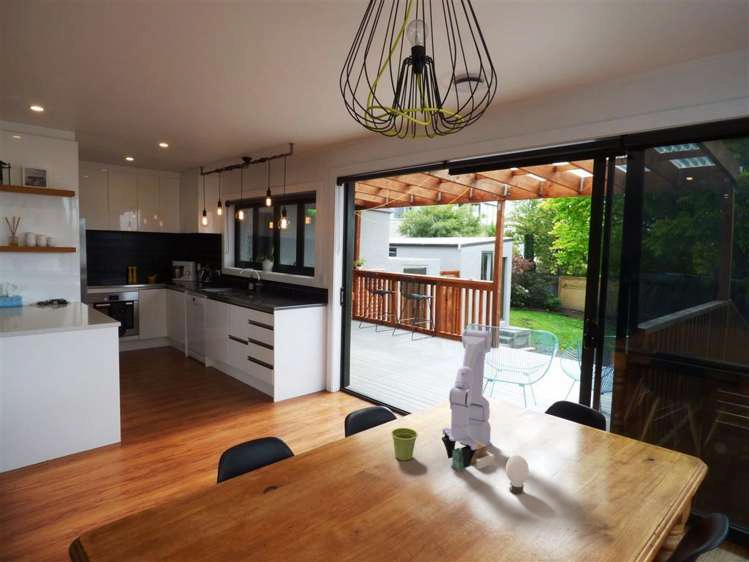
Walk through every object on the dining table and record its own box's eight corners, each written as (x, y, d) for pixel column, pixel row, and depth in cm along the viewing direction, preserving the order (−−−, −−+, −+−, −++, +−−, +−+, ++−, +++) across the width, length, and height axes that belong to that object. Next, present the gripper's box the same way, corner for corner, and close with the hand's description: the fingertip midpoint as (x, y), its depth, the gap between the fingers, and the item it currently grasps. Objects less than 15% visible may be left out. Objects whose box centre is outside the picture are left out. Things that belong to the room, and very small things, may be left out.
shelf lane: (474, 453, 160) (475, 445, 160) (494, 463, 152) (494, 455, 152) (459, 458, 156) (459, 450, 155) (478, 469, 148) (478, 460, 148)
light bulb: (512, 497, 131) (513, 462, 131) (501, 485, 138) (502, 452, 137) (532, 495, 133) (533, 460, 132) (520, 483, 139) (521, 450, 139)
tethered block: (475, 456, 157) (476, 440, 157) (486, 462, 153) (487, 445, 153) (450, 465, 151) (450, 448, 150) (460, 472, 146) (461, 454, 146)
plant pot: (417, 451, 161) (417, 428, 160) (417, 464, 151) (417, 439, 151) (391, 450, 162) (392, 427, 161) (390, 462, 152) (390, 438, 152)
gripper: (436, 418, 152) (435, 456, 153) (466, 433, 140) (465, 474, 141) (451, 414, 156) (450, 451, 157) (482, 428, 144) (481, 468, 145)
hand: (458, 462), depth 149 cm, fingers open, 7 cm apart
